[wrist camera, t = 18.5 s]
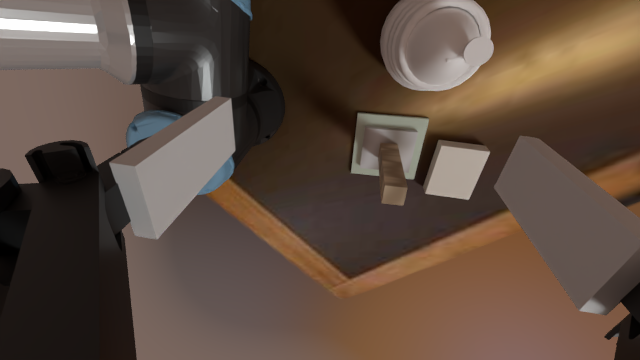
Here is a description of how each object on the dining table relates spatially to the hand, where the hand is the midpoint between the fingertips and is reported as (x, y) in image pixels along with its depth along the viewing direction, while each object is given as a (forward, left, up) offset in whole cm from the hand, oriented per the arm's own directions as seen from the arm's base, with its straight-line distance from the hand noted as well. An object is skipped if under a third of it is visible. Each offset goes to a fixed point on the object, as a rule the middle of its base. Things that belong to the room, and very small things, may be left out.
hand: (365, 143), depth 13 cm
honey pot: (+9, +1, -37) cm, 38 cm away
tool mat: (+6, -17, -36) cm, 40 cm away
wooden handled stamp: (+6, -17, -36) cm, 40 cm away
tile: (+22, -20, -35) cm, 46 cm away
